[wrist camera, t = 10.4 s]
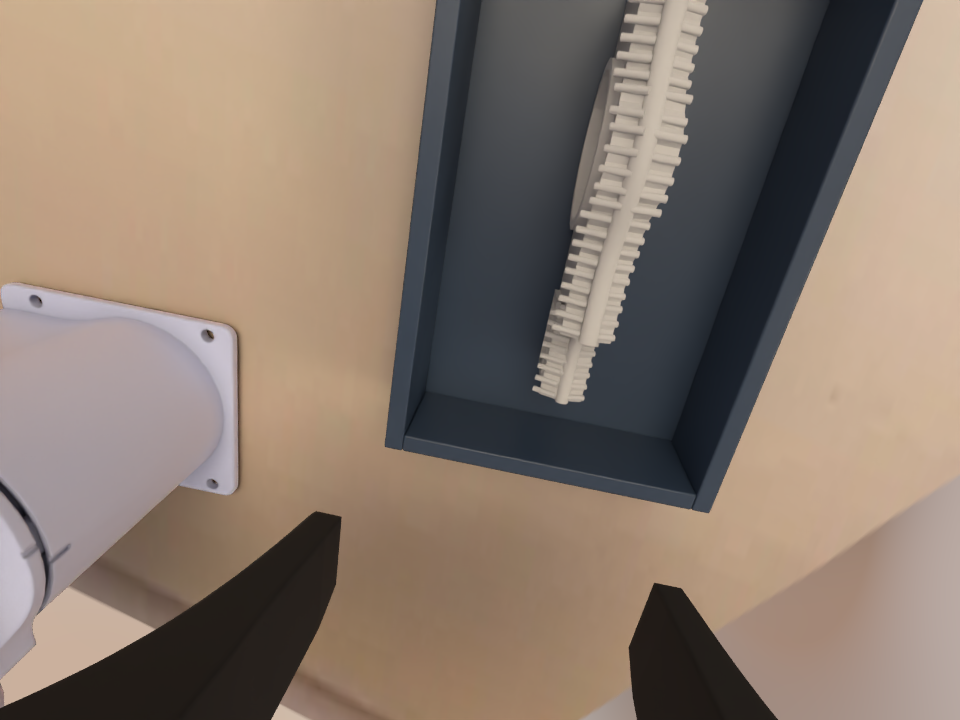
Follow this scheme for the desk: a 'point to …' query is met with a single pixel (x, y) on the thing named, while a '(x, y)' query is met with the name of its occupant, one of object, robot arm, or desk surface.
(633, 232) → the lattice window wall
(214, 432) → the robot arm
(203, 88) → the desk surface
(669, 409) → the tote
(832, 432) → the desk surface
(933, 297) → the desk surface
